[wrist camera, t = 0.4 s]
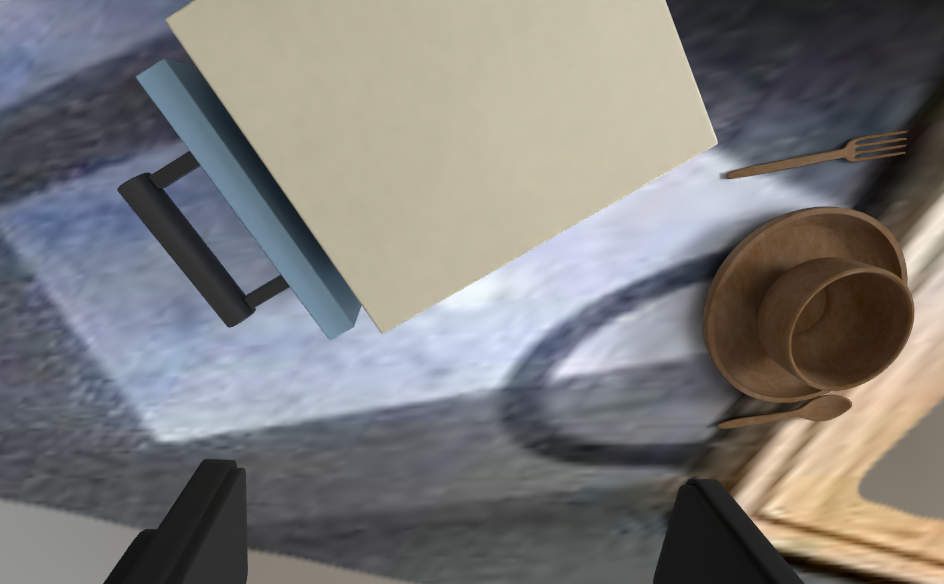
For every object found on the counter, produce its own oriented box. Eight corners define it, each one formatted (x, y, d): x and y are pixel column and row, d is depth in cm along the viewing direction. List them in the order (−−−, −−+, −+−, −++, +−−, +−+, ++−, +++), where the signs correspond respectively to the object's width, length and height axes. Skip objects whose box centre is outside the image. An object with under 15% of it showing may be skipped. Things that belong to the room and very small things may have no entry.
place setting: (686, 171, 28) (753, 183, 22) (1033, 101, 28) (1183, 95, 23) (698, 439, 33) (753, 502, 28) (987, 376, 34) (1098, 426, 28)
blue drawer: (284, 329, 27) (241, 391, 21) (137, 137, 24) (31, 142, 17) (574, 161, 26) (624, 172, 20) (465, -70, 22) (482, -148, 16)
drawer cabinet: (393, 274, 28) (381, 335, 20) (250, 54, 24) (162, 19, 16) (629, 138, 27) (719, 143, 19) (520, -116, 23) (574, -249, 15)
